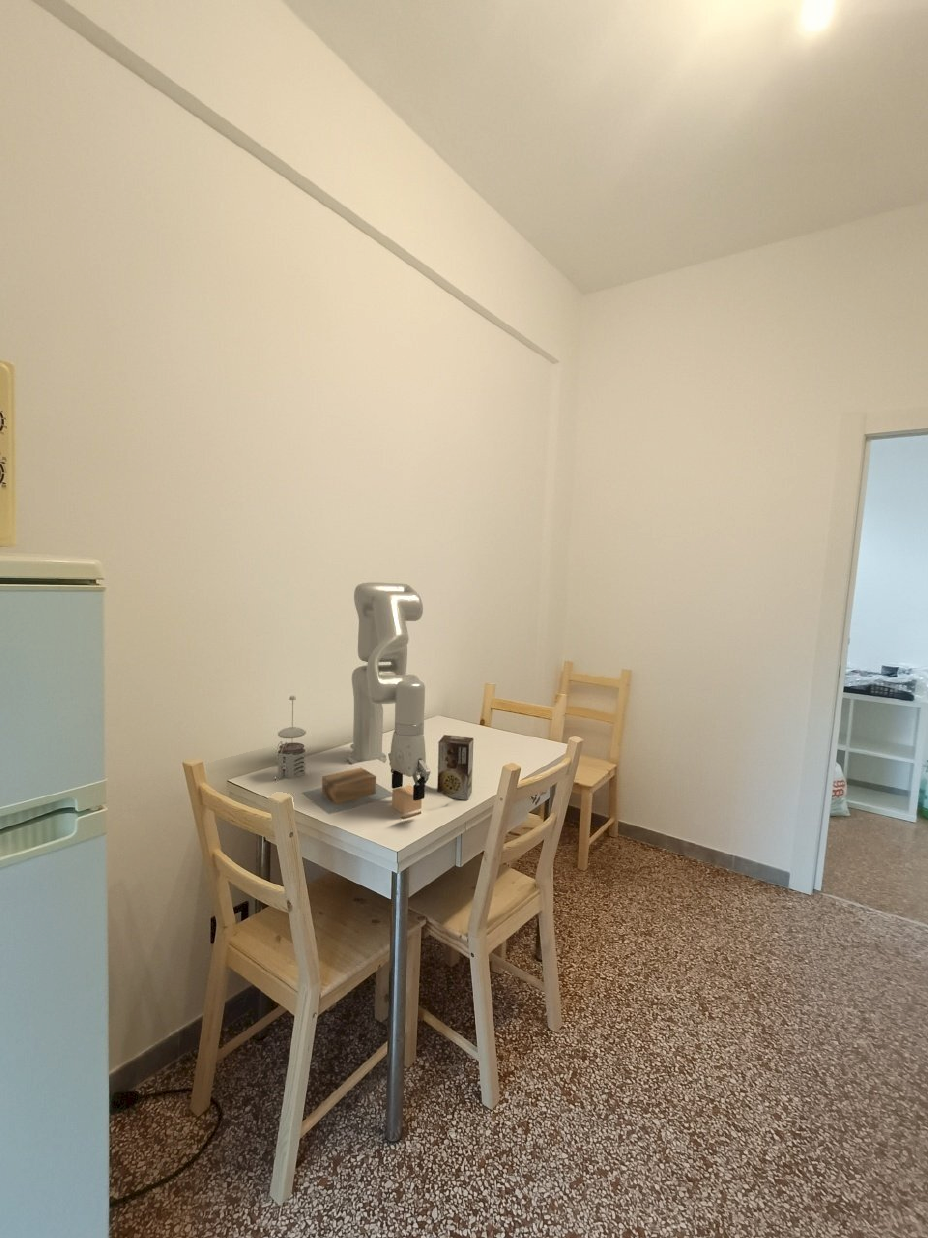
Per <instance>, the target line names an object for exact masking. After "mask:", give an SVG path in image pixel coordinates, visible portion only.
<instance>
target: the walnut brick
mask: <svg viewBox="0 0 928 1238" xmlns="http://www.w3.org/2000/svg"><path fill="white" fill-rule="evenodd" d="M321 780H322V781H321V783H322V787H321V788H322V795H324V796H325V797H326V798H328V799H329V800H331V801H332V802H333V803H335V804H340V803H344V802H347V801H351V800H355V799H358V798H362V797H366V796H369V795H373V794H376V784H377V776H376V775H375V774H373V773H372V772H370V771H368V770H367V769H364V768H363V767H358V768H353V769H349V770H344V771H341V772H336V773H332V774H326V775H323V776H322V778H321Z"/></svg>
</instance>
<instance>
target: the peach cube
mask: <svg viewBox="0 0 928 1238" xmlns="http://www.w3.org/2000/svg"><path fill="white" fill-rule="evenodd" d="M391 792H392V797H391V807H392V808H394V809H395V810H397V811H398V812H400V813H402V814H407V813H410V814H407V815H404V816H400V818H401V820H407V819H410V818H413V817H416V816H419V815H422V810H421V809H422V801H423V800H422V799H420V800H416V801H414V800H413V786H412V785H409V784H408V785H405V786H402V787H399V788H395V789H392V791H391ZM417 810H418V811H417ZM419 810H421V811H419ZM415 811H417V812H415ZM411 812H414V813H411Z"/></svg>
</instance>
